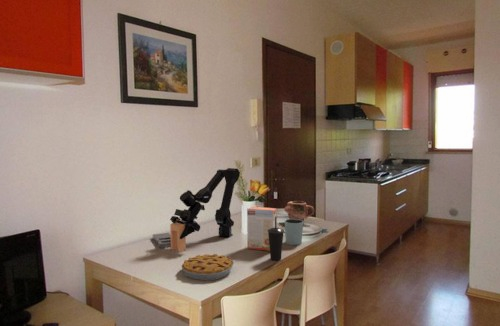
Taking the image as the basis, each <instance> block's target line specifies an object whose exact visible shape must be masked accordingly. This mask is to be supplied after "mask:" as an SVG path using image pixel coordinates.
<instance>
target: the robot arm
mask: <svg viewBox="0 0 500 326" xmlns="http://www.w3.org/2000/svg"><path fill="white" fill-rule="evenodd" d="M240 176H241V171H240V169H238V168H233V167H227V168H226V169H219V168H218V169H217V170H216V173H215V174H214V176H212V178H211V179H210V181H208V183H207V184H206V185H205V186H204V187H202V188H201V189H199V190H198V191H197V192H196V193H195V194H194V193H193V192H192V190H189V189H188V190H186V191H184V192H183V193H182V194H181V195H180V197H179V200H180V201H181V203H182V204H184V205H185V207H187V208H188V209H175V211H174V214H173V215H172V216H171V217H170V219H169V220H170V222H171V224H172V223H181V224H184V225H185V229H184V231H183V232H182V234H181V236H180V239H182V238H184V237H187V236H189V235H190V234H193V233H195V232H199V231H200V229H201V225H200V224H199V223H198V222H197V221H196V220H197V219H198V214H199V213H200V211H205V210H206V209H205V204H208V203H209V202H210V201H211V199H212V197H213V192H214V191H215V190H216V188H217V187H218V186H219V185H220V183H222V180H223V179H224V180H225V186H224V192H223V195H222V200H221V204H220V208H218V209H216V210H215V214H214V217H215V218H214V220H215V221H216V224H217V225H218V226H219V227H218V235H217V237H219V238H226V239H228V238H231V237H232V236H233V233H232V227H234V226H235V225H234V223H235V222H234V220H233V219H232V218H231V216H232V215H231V214H232V213H231V210H230V207H231V202H232V198H233V194H234V193H233V192H234V188H235V185H236V184H237V182H238V181H239V179H240Z"/></svg>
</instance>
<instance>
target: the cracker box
mask: <svg viewBox="0 0 500 326" xmlns="http://www.w3.org/2000/svg"><path fill="white" fill-rule="evenodd" d="M246 211H247V212H246V217H247V221H246V222H247V225H246V229H247V230H246V232H247V234H246V235H247V249H248V250H257V251H268V252H270V246H269V236H268V229H271V228H274V227H275V217H277V208H275V207H259V206H250V207H247V209H246Z"/></svg>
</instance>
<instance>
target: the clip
mask: <svg viewBox="0 0 500 326" xmlns="http://www.w3.org/2000/svg"><path fill="white" fill-rule="evenodd" d="M169 224H170V225H169V226H170V229H169V230H170V235H171V247H170V250H172V251H173V250H177V252H179V253H180V252H184V251H187V250H186V249H187V248H186V241H187V239H186V237H187V236H186V237H184V238H182V239H180V236H181V234H182V232H183V231H184V229H185V225H184V224H181V223H172V222H171V223H169Z"/></svg>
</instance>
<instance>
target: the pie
mask: <svg viewBox="0 0 500 326" xmlns="http://www.w3.org/2000/svg"><path fill="white" fill-rule="evenodd" d="M234 264H235V263H234V262H233V260H232V259H231V257H229V256H227V257H226V255H222V254H221V255H218V254H216V253H214V254H208V253H207V254H203V255H200V254H198V255H195V256H193V257H188V259H184V261H183V263H182V264H181V269H182V271H183V273H184V274H185V276H186V275H187V276H186V277H188V276H189V277H188V278H190V279H195V280H200V281H212V280H214V281H215V280H218V279H221V278H225V276H227V275H229V273H230V271H231V270H232V268H233V267H234Z"/></svg>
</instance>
